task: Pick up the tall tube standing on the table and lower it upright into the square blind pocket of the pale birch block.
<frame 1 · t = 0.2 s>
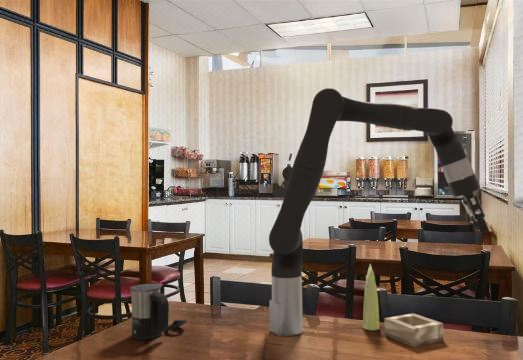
hand: (482, 231, 139), 31 cm above the table, tool tilted 20°, fingers open, 8 cm apart
socket block: (413, 337, 144), on the table
milk frother: (159, 333, 153), on the table
tube: (371, 329, 154), on the table
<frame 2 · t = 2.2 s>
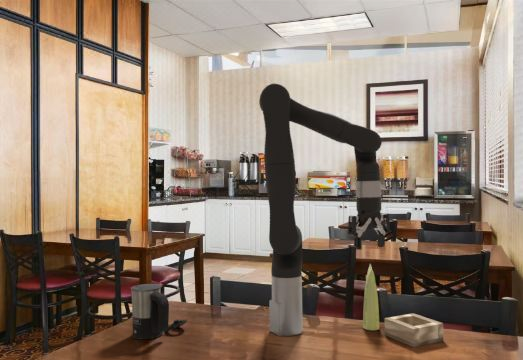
hand: (369, 248, 153), 25 cm above the table, tool pointing down, fingers open, 8 cm apart
nothing on the table moved.
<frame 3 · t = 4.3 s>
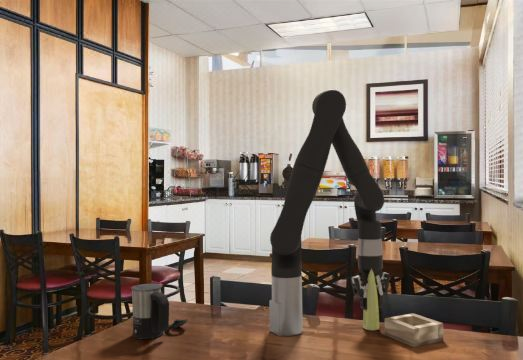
hand: (371, 307, 154), 6 cm above the table, tool pointing down, fingers closed on tube, 4 cm apart
tube: (371, 329, 154), on the table, touching gripper
everything else where it was.
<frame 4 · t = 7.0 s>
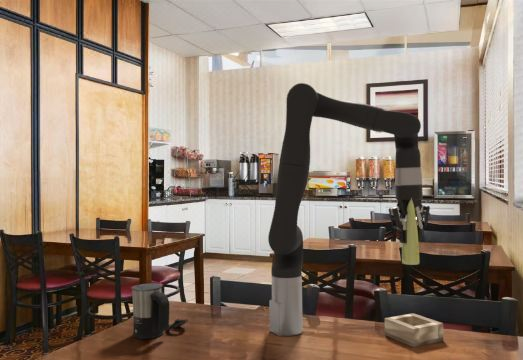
hand: (410, 241, 144), 28 cm above the table, tool pointing down, fingers closed on tube, 4 cm apart
tube: (410, 264, 144), point 21 cm above the table, touching gripper
everything else where it was.
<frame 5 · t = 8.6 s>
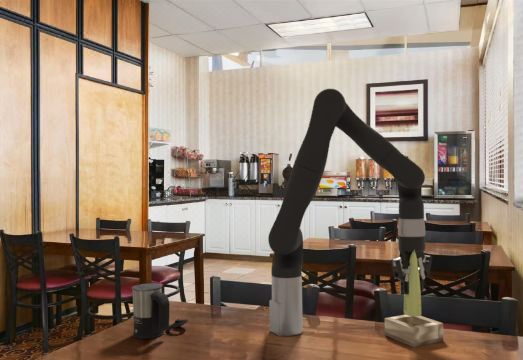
hand: (412, 292, 144), 13 cm above the table, tool pointing down, fingers closed on tube, 4 cm apart
tube: (412, 315, 144), point 7 cm above the table, touching gripper
everything else where it was.
when the fingers open (9 cm above the table, at t = 9.9 s): tube drops 1 cm, resting on socket block.
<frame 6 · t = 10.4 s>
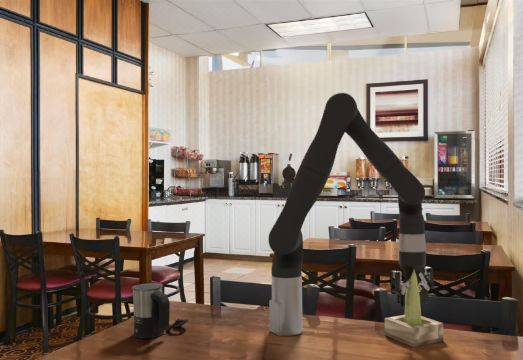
hand: (412, 304, 144), 10 cm above the table, tool pointing down, fingers open, 8 cm apart
tube: (413, 335, 144), point 1 cm above the table, touching socket block
everything else where it was.
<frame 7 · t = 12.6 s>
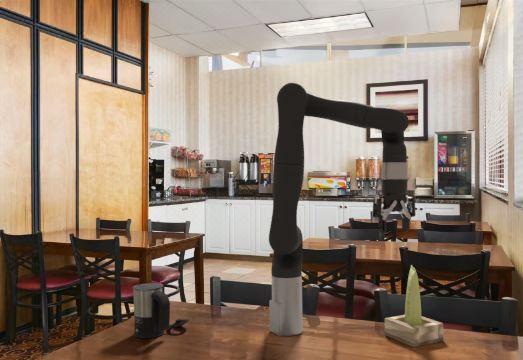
hand: (394, 231, 149), 30 cm above the table, tool pointing down, fingers open, 8 cm apart
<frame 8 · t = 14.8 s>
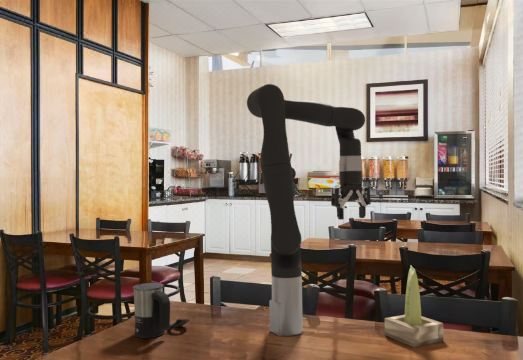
hand: (351, 218, 165), 33 cm above the table, tool pointing down, fingers open, 8 cm apart
at the end: tube 0.1 cm from the socket block (horizontally); tube tilted 0°; tube touching socket block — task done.
